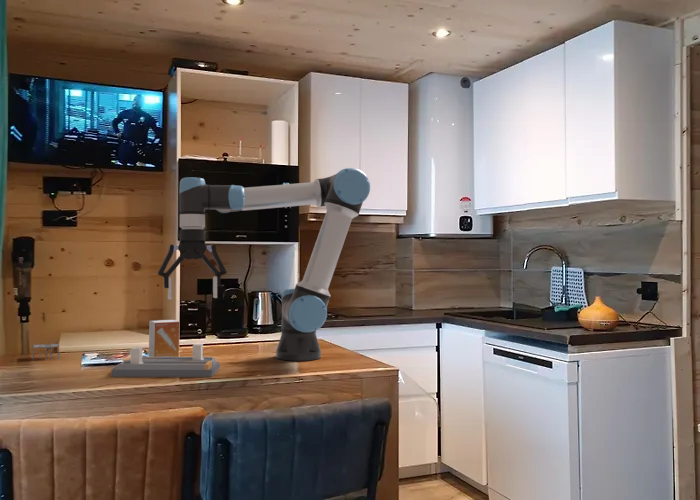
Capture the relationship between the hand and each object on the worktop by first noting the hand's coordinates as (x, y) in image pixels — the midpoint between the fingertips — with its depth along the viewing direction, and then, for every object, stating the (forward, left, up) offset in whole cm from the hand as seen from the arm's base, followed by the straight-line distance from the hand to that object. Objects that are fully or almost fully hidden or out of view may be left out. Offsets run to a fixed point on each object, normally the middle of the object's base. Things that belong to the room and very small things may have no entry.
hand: (192, 298), depth 189 cm
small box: (+12, -12, -21) cm, 27 cm away
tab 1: (+14, +11, -19) cm, 25 cm away
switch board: (+6, +7, -21) cm, 23 cm away
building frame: (+51, -16, -21) cm, 57 cm away
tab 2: (-2, +4, -19) cm, 19 cm away
